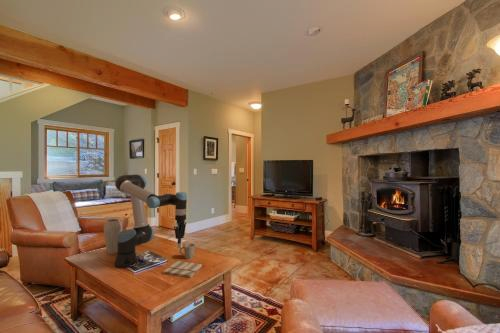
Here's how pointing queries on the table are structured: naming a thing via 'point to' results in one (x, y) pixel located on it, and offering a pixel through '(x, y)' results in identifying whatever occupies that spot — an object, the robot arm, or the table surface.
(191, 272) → the laid row
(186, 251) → the mug
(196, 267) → the plank
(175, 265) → the plank
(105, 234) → the vase
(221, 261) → the table surface
